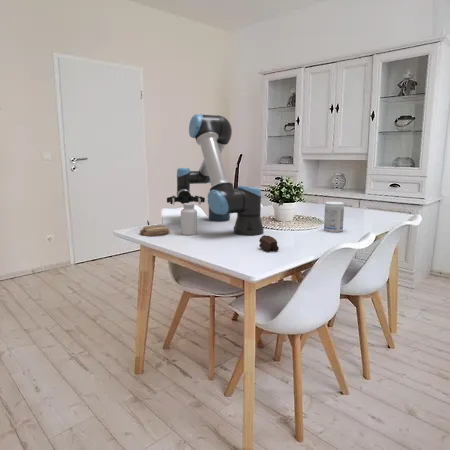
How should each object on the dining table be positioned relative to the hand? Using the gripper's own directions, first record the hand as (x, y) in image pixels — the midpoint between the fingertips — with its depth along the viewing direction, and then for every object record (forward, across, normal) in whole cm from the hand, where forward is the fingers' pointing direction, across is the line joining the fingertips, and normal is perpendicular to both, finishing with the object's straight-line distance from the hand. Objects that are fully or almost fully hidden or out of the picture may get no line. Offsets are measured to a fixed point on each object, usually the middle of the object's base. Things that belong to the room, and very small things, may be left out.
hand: (186, 202), depth 191 cm
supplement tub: (+13, -75, -14) cm, 78 cm away
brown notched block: (+46, -31, -14) cm, 57 cm away
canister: (-26, -21, -15) cm, 37 cm away
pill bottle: (+10, 0, -14) cm, 18 cm away
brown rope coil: (+8, +16, -14) cm, 23 cm away
